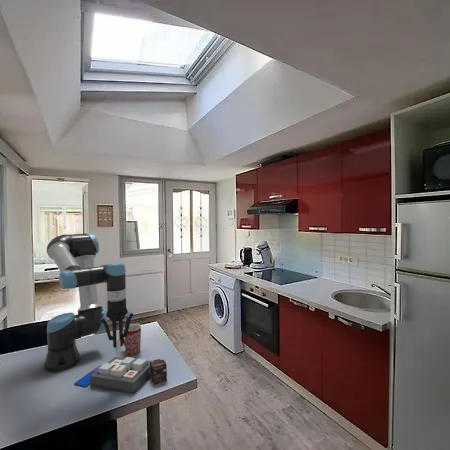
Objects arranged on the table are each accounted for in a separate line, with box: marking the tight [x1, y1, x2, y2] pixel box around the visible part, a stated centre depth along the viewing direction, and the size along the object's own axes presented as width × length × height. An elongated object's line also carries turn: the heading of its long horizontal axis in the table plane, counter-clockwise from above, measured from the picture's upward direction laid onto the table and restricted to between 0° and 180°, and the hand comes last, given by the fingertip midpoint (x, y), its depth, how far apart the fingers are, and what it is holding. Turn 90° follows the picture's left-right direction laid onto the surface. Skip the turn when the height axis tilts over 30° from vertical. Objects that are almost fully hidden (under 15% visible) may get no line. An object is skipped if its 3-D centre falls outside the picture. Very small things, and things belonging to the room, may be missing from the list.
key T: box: [111, 365, 126, 377], centre depth 112 cm, size 4×4×3 cm
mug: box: [123, 323, 142, 357], centre depth 140 cm, size 13×9×14 cm
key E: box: [132, 358, 148, 372], centre depth 117 cm, size 4×4×3 cm
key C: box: [123, 370, 139, 379], centre depth 111 cm, size 4×4×3 cm
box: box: [149, 357, 168, 385], centre depth 115 cm, size 6×6×7 cm
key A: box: [111, 359, 123, 366], centre depth 120 cm, size 4×4×3 cm
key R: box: [121, 356, 136, 370], centre depth 119 cm, size 4×4×3 cm
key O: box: [99, 362, 115, 375], centre depth 114 cm, size 4×4×3 cm
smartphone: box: [73, 365, 102, 388], centre depth 118 cm, size 7×1×15 cm
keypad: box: [89, 356, 151, 395], centre depth 116 cm, size 21×16×4 cm
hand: (118, 354), depth 112 cm, fingers closed
